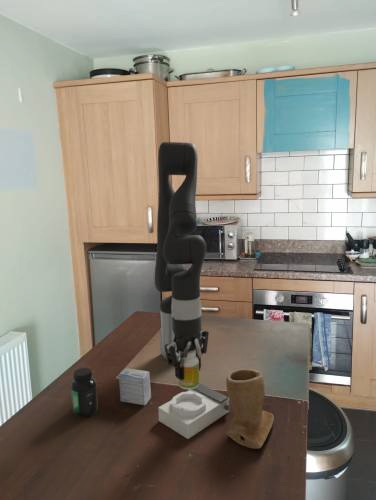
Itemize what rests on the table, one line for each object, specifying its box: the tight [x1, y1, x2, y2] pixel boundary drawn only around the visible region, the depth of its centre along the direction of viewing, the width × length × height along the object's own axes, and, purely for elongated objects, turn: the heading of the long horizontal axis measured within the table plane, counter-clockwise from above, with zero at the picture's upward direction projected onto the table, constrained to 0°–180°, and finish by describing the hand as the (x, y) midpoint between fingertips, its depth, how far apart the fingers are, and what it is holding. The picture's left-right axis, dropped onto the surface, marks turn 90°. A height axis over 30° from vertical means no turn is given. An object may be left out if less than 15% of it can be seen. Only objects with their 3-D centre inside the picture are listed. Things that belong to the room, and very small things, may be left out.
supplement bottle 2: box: [178, 350, 200, 391], centre depth 110 cm, size 5×5×10 cm
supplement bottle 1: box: [70, 367, 99, 418], centre depth 118 cm, size 7×7×12 cm
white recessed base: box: [157, 382, 231, 440], centre depth 114 cm, size 16×12×6 cm
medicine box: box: [118, 367, 152, 406], centre depth 123 cm, size 8×4×9 cm, turn 71°
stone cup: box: [225, 368, 275, 450], centre depth 107 cm, size 15×12×15 cm
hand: (188, 374), depth 111 cm, fingers closed on supplement bottle 2, 5 cm apart
